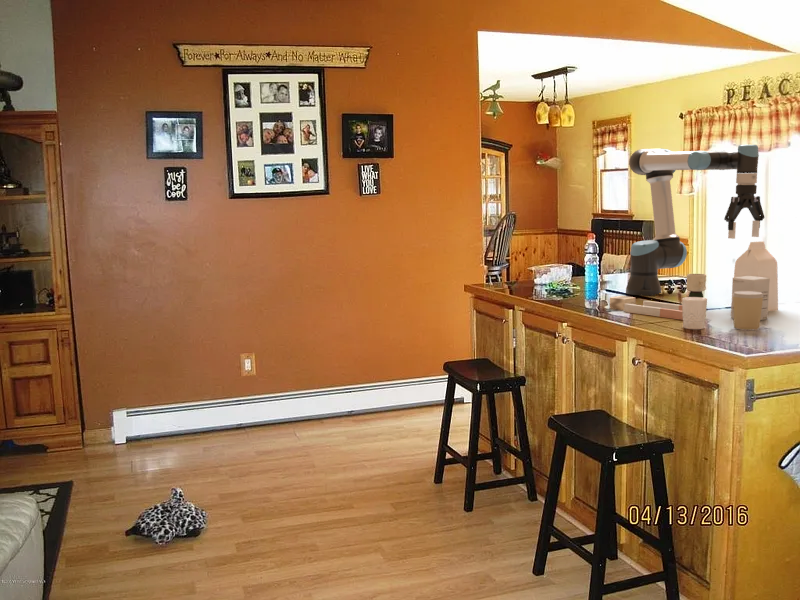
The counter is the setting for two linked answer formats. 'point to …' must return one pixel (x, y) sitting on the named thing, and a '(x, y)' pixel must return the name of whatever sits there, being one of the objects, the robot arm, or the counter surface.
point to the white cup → (694, 312)
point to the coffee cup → (747, 309)
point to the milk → (759, 269)
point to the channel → (656, 309)
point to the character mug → (696, 284)
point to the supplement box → (752, 285)
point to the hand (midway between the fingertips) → (743, 237)
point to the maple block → (621, 302)
